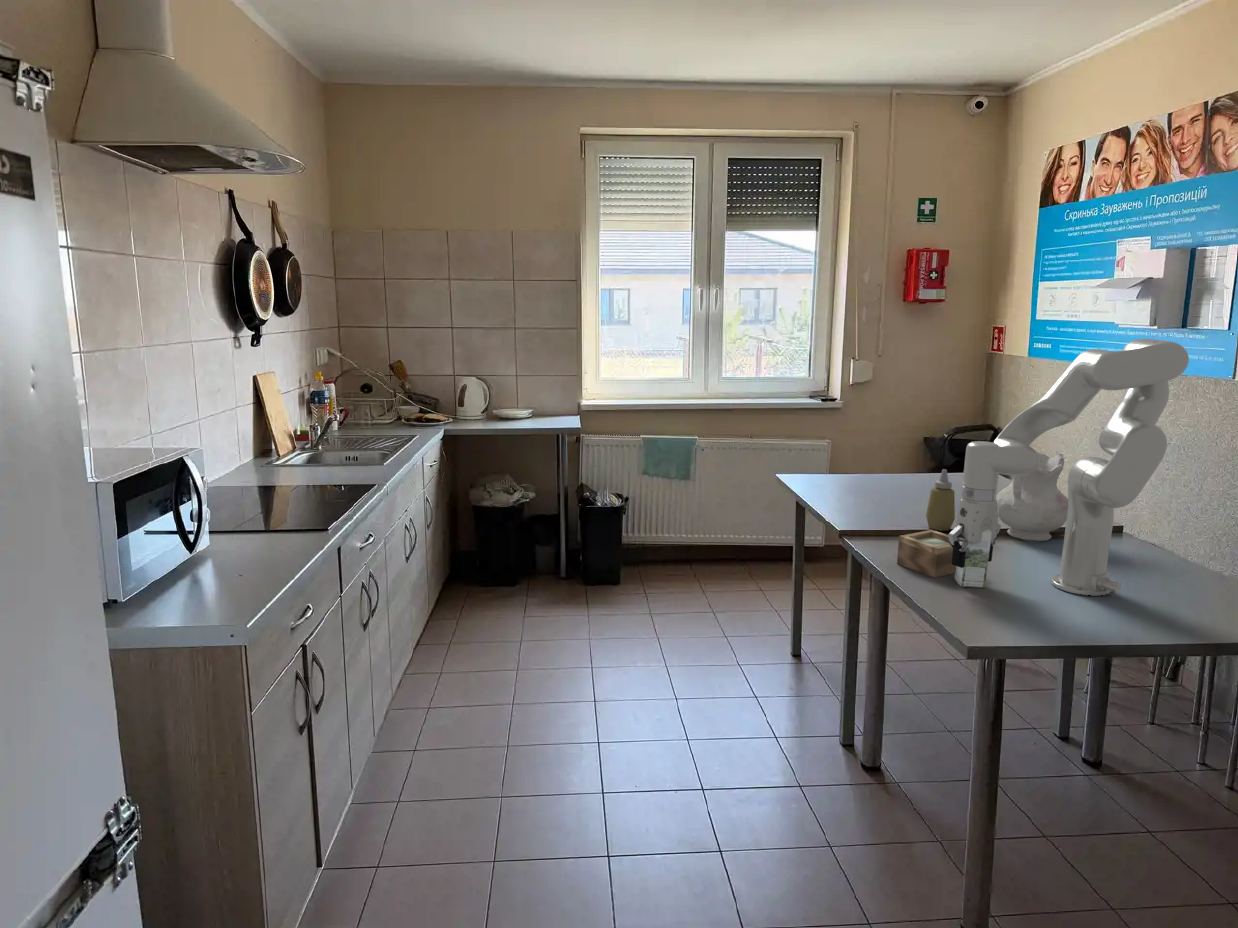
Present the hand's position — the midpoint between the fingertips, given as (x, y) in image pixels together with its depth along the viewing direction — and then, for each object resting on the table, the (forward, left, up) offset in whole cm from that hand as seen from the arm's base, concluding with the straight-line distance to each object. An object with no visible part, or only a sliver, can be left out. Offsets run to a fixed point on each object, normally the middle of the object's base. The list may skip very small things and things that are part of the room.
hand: (971, 562), depth 197 cm
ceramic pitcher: (+19, -49, -6) cm, 53 cm away
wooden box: (+13, -2, -5) cm, 14 cm away
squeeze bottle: (+36, -32, -6) cm, 48 cm away
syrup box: (0, 0, -6) cm, 6 cm away
